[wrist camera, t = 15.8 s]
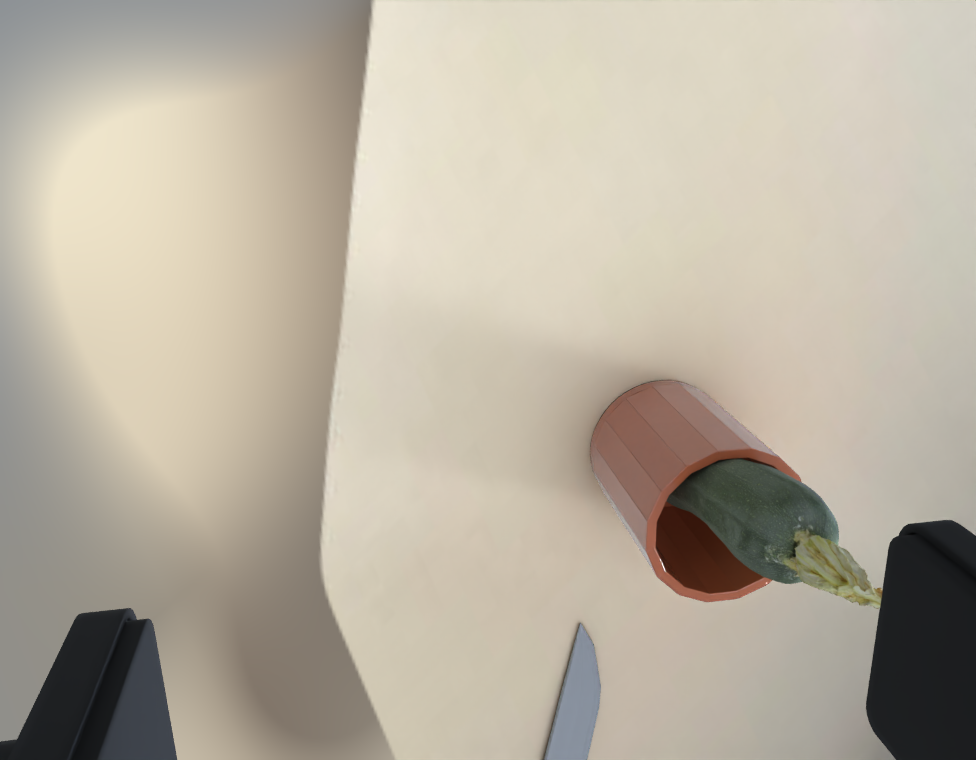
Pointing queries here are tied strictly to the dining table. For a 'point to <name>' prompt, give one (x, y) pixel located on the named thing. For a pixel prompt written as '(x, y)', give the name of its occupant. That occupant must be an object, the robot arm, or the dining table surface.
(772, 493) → the vegetable
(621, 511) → the cup
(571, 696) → the chef's knife
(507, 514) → the dining table surface
